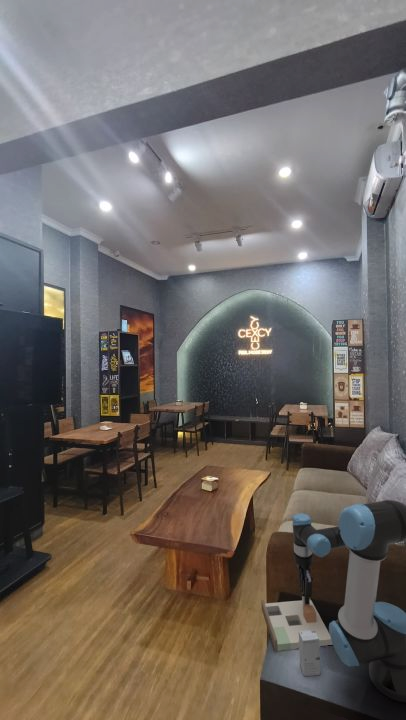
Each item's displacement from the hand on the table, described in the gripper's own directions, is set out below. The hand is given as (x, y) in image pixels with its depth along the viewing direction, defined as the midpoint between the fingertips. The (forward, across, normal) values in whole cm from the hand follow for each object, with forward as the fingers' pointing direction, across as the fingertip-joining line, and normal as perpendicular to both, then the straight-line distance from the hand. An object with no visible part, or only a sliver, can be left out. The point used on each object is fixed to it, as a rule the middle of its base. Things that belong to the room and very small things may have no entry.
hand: (306, 609), depth 144 cm
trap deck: (+4, -4, +6) cm, 8 cm away
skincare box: (+4, -24, +8) cm, 25 cm away
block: (+1, -4, 0) cm, 4 cm away
